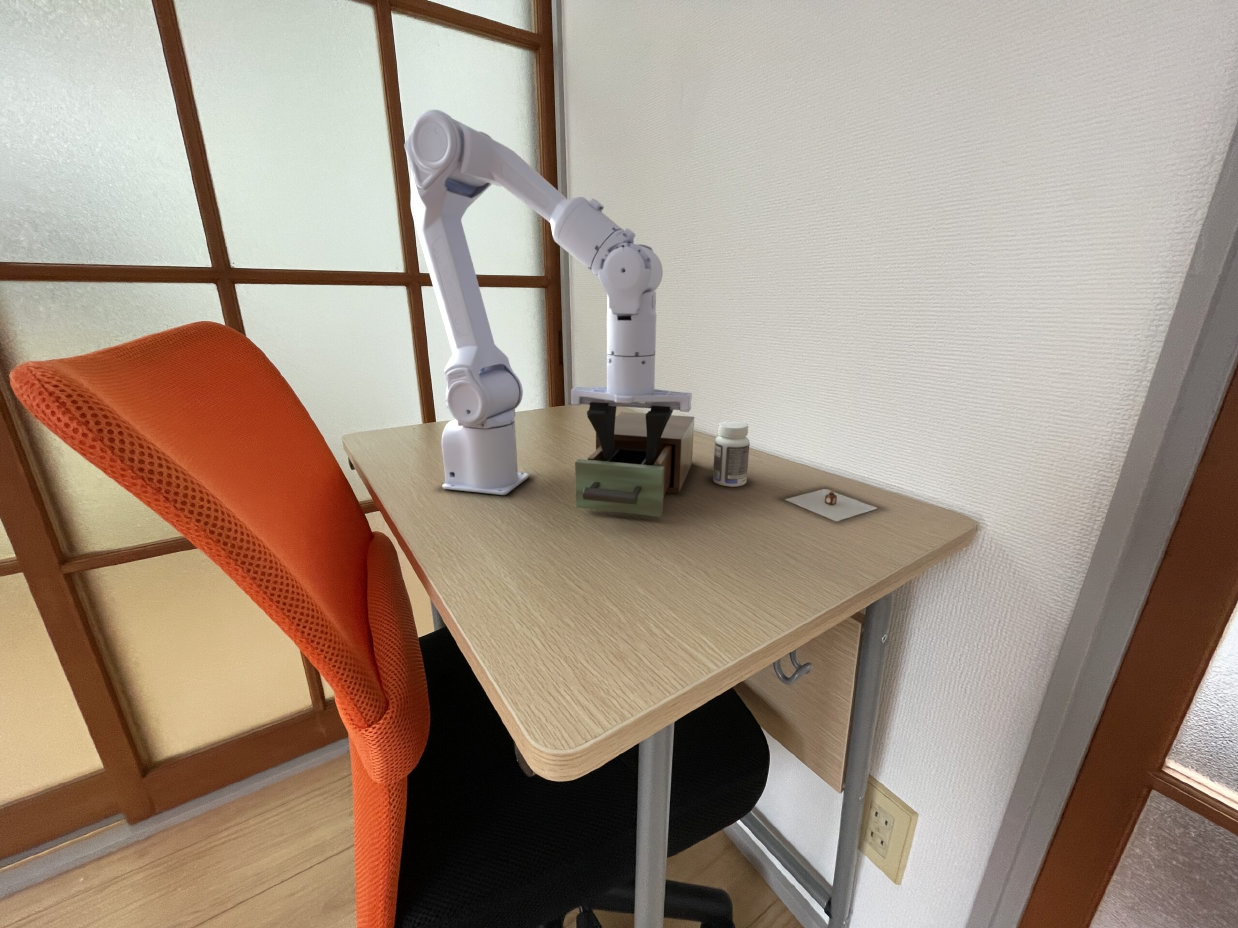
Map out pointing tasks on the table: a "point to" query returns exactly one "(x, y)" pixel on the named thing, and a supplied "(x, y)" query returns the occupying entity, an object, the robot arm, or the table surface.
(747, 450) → the pill bottle
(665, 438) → the cabinet
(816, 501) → the grey square plate
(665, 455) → the drawer
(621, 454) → the tray
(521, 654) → the table surface
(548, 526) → the table surface
